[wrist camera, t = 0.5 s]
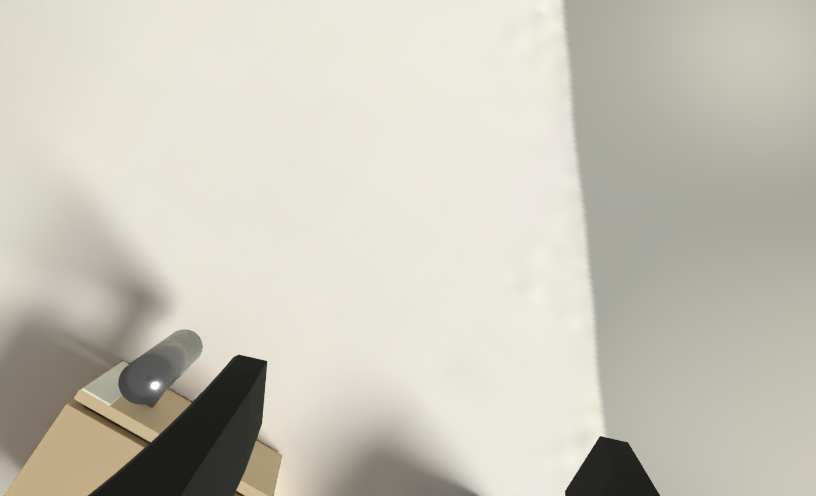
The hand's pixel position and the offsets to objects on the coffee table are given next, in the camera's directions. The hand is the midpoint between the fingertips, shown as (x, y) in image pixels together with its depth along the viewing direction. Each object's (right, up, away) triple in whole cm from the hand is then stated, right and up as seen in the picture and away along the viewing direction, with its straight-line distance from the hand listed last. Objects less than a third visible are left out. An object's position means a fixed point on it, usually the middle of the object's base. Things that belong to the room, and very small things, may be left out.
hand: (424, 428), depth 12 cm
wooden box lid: (-12, -5, +23) cm, 26 cm away
